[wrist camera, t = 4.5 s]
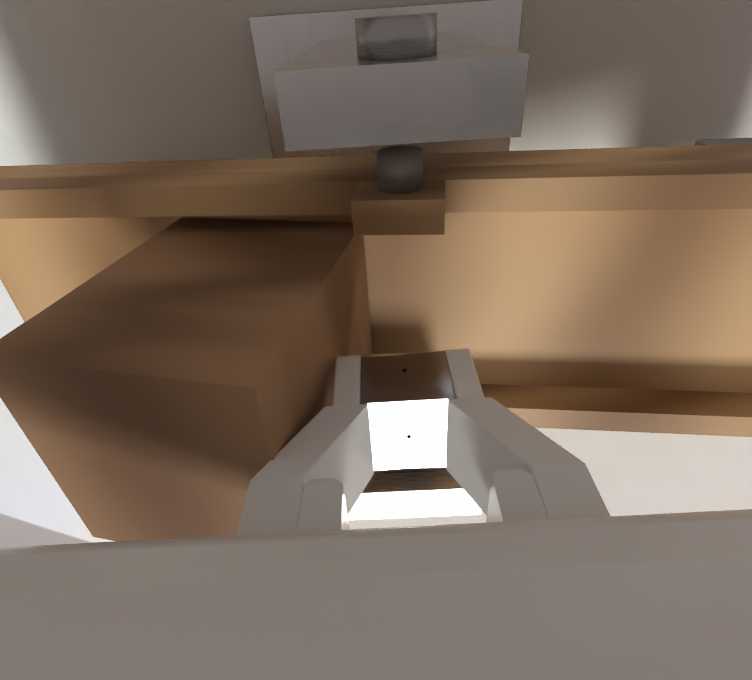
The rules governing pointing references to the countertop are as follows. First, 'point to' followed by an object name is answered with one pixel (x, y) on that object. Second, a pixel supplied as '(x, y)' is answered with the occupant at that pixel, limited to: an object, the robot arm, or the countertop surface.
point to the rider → (187, 369)
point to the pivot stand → (395, 128)
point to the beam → (471, 262)
